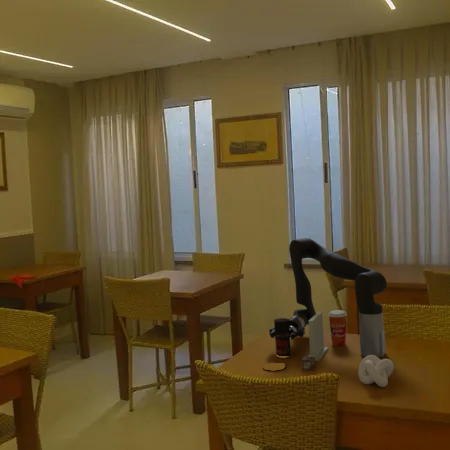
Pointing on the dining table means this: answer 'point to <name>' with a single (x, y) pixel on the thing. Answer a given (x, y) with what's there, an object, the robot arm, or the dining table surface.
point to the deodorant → (282, 337)
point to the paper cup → (338, 327)
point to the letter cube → (308, 363)
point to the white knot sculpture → (375, 370)
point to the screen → (316, 337)
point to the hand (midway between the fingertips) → (281, 336)
